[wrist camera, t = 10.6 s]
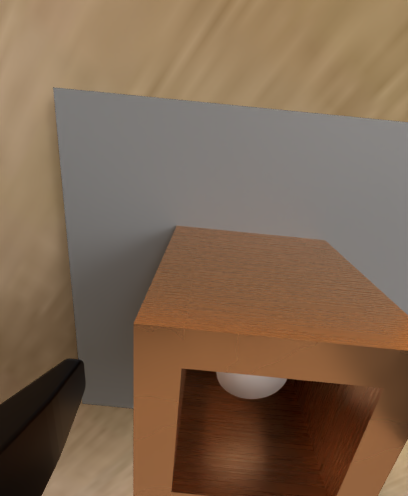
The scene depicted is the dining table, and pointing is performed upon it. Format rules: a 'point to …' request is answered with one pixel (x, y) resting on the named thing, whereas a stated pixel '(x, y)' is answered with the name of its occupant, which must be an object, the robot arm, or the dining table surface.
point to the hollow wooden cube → (266, 371)
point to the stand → (214, 205)
